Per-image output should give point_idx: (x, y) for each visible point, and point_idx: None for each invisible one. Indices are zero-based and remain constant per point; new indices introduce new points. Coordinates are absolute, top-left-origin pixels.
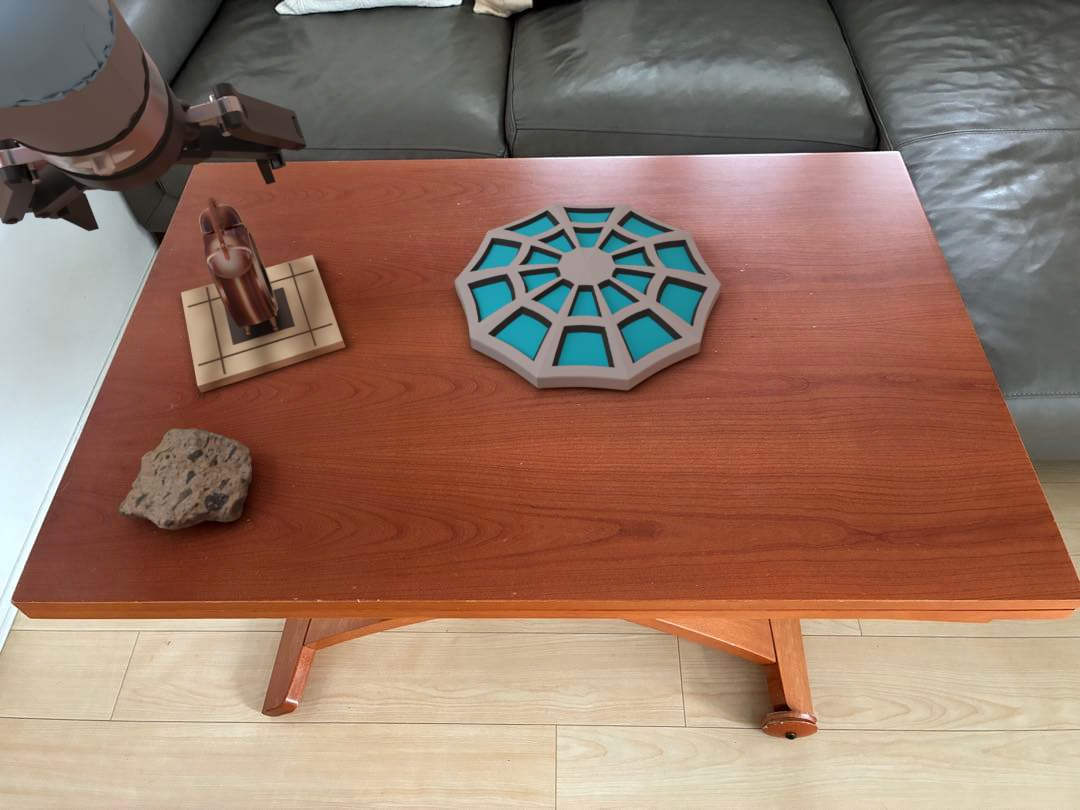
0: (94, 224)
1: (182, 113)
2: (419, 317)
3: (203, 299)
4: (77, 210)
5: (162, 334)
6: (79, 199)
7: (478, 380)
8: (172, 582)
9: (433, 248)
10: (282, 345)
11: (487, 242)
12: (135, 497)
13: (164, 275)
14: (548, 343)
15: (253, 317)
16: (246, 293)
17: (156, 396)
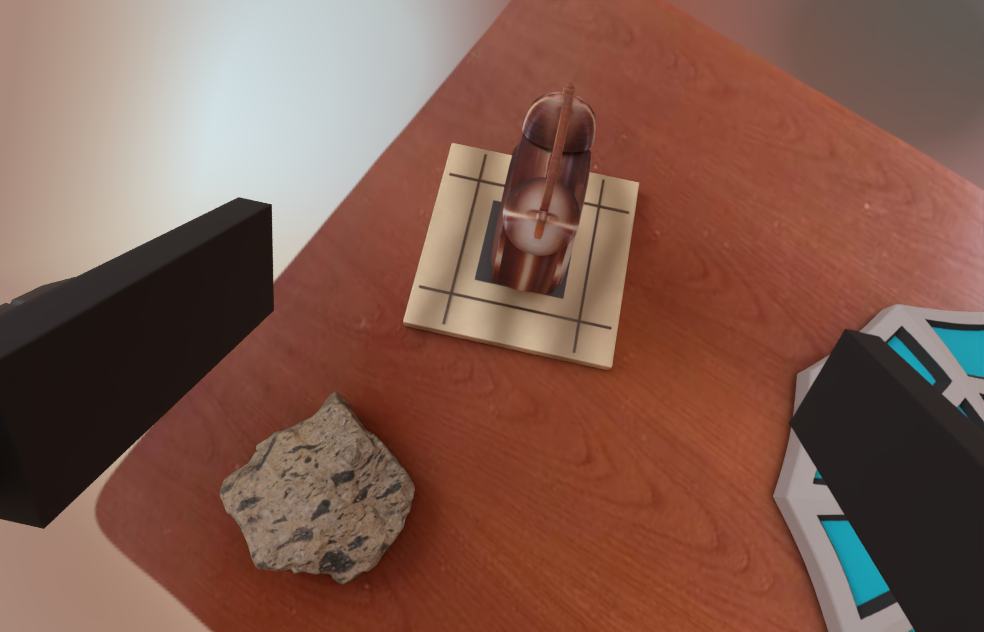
0: (253, 323)
1: None
2: (724, 382)
3: (473, 173)
4: (153, 390)
5: (402, 192)
6: (208, 288)
7: (753, 555)
8: (239, 622)
9: (797, 267)
10: (533, 323)
11: (890, 330)
12: (243, 495)
13: (446, 92)
14: (903, 613)
15: (519, 290)
16: (531, 274)
17: (352, 293)
